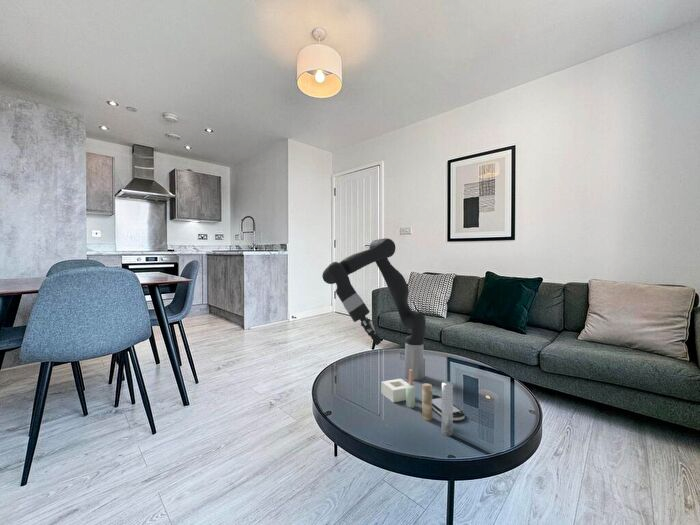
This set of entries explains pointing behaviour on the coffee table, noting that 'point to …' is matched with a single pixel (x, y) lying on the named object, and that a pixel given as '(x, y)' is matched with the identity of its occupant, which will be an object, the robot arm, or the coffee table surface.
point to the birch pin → (427, 401)
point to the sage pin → (410, 396)
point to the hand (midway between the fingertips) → (378, 342)
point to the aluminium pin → (447, 408)
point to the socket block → (396, 388)
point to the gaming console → (437, 407)
